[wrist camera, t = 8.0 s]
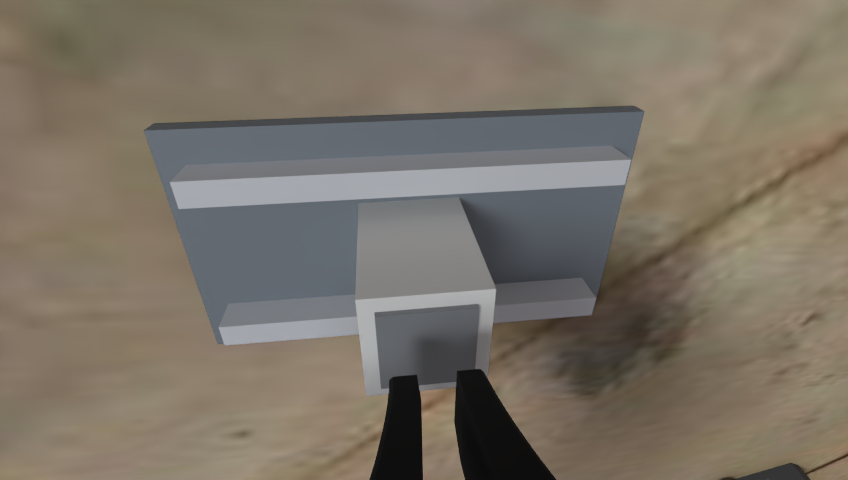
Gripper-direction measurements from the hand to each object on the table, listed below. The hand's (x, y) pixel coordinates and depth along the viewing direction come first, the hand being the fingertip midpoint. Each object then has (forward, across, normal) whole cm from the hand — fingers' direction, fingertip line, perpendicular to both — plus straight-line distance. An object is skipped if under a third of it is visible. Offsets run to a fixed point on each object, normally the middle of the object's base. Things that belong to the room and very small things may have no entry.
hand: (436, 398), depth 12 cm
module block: (+8, 0, 0) cm, 8 cm away
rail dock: (+9, 0, 0) cm, 9 cm away
